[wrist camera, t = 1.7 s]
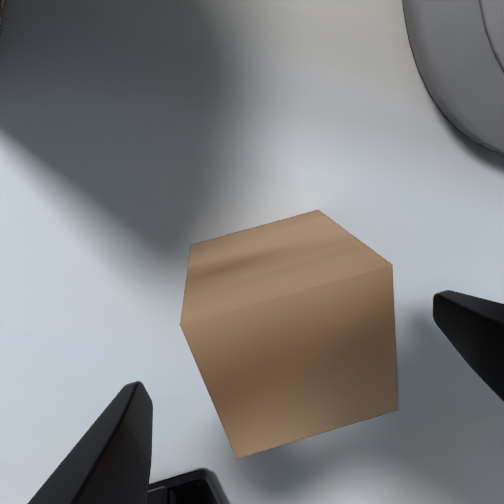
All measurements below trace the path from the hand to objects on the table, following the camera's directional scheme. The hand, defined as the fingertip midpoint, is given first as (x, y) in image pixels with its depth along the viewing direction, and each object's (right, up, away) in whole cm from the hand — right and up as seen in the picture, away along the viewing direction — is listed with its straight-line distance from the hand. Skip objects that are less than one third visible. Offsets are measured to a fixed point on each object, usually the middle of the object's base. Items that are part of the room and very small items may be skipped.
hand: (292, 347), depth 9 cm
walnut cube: (-1, +2, +3) cm, 4 cm away
